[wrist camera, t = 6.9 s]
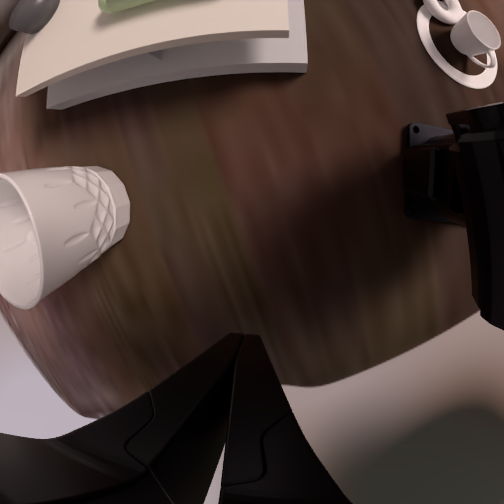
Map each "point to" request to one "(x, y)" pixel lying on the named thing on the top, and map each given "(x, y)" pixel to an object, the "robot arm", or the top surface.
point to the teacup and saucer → (461, 39)
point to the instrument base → (189, 64)
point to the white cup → (56, 227)
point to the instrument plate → (129, 31)
